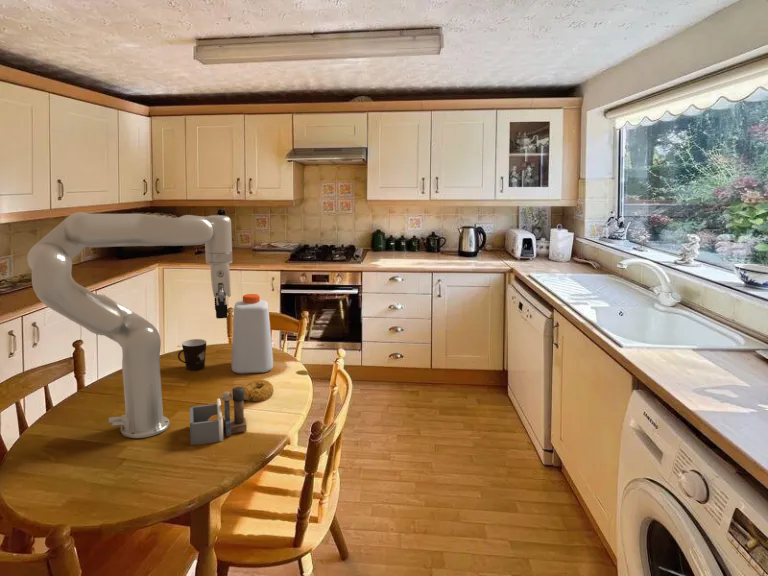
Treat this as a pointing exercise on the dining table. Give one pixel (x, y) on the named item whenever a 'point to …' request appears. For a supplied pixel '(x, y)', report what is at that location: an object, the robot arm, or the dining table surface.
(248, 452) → the dining table surface
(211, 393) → the dining table surface
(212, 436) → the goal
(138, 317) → the robot arm
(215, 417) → the ball
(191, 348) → the coffee mug
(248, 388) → the bagel
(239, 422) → the striker
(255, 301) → the plastic bottle
